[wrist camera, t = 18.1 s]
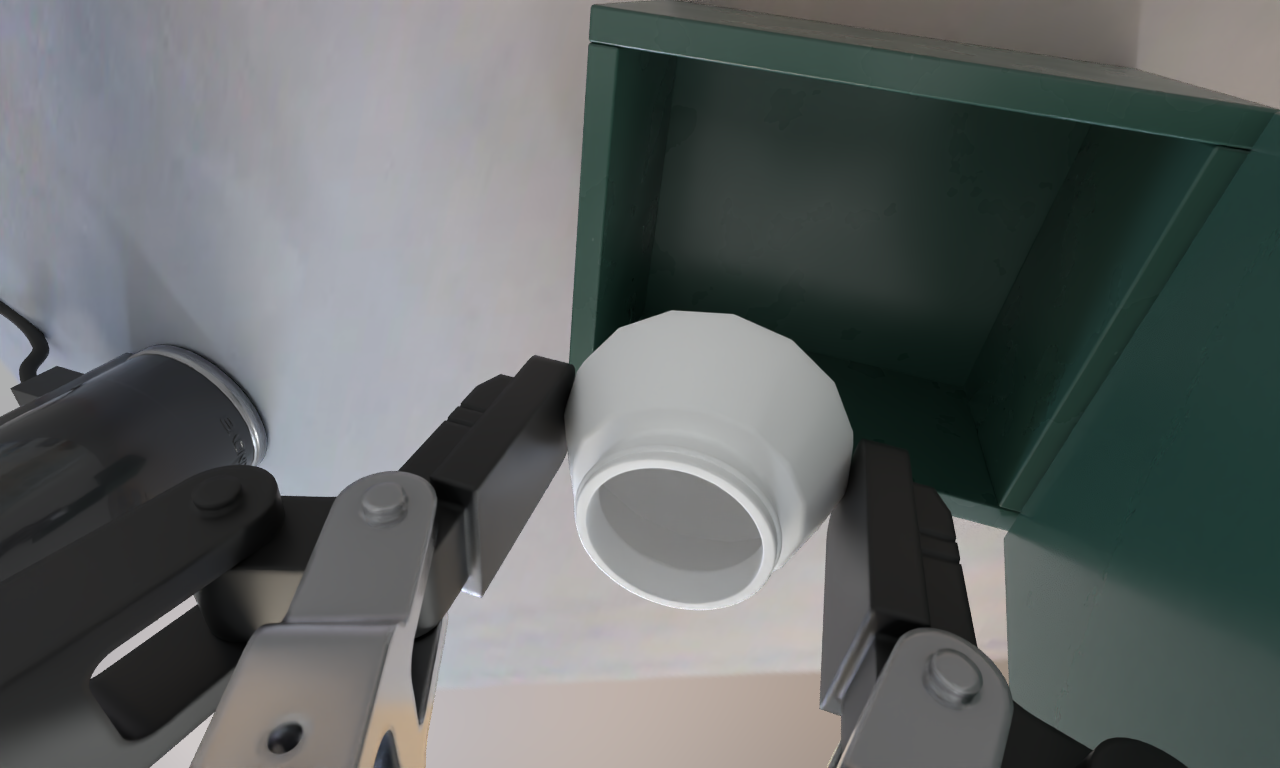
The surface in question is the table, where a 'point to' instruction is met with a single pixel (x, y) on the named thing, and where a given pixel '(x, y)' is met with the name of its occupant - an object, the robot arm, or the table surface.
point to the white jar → (702, 456)
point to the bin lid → (1169, 515)
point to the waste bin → (896, 218)
